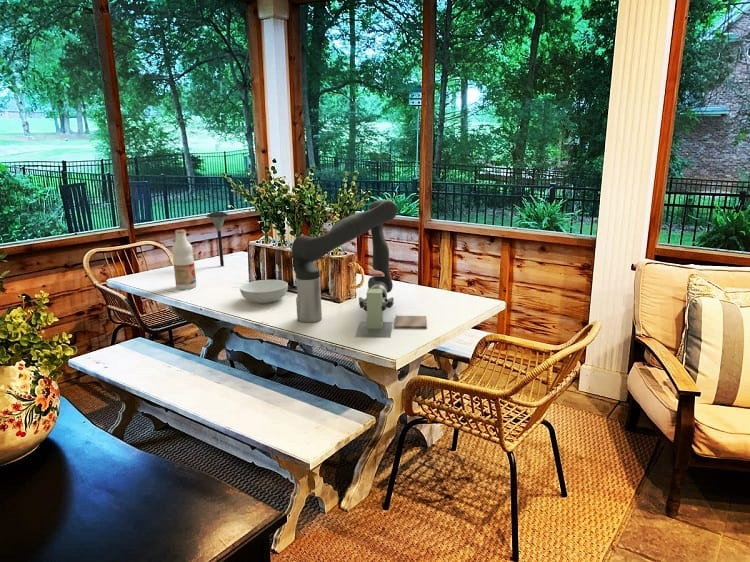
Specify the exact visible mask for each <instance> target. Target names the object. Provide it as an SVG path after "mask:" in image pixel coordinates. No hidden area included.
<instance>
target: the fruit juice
mask: <svg viewBox="0 0 750 562" xmlns="http://www.w3.org/2000/svg"><path fill="white" fill-rule="evenodd" d="M174 233H175V234H174V235H175V241H174V243H173V244H172V247H171V249H172V250H171V251H172V254H173V261H172V263H173V272H174V279H175V286H176V287H175V288H176V289H177V290H180V289H187V290H191V288H192V289H194V288H196V287H197V278H196V268H195V267H196V266H195V259H194V256H193V246H192V244H191V242H189V240H188V237H187V235H186V234H187V230H186V229H175V230H174Z"/></svg>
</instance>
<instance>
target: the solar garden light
mask: <svg viewBox="0 0 750 562" xmlns="http://www.w3.org/2000/svg"><path fill="white" fill-rule="evenodd" d="M228 216H230V214H228V213H226V212H224V211H211V212H210V213H208V215H206V218H210V220H211V222H212V224H213V225H214V227H215V229H216V231H217V239H218V241H217V242H218V251H219V252H218V253H219V261H220V262H219V263H220V267H221V266H223V267H224V266H225V265H224V254H223V242H222V241H223V240H222V231H221V230H222V229H223V226H224V222H225V220H226V217H228Z"/></svg>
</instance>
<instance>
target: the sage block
mask: <svg viewBox="0 0 750 562" xmlns="http://www.w3.org/2000/svg"><path fill="white" fill-rule="evenodd" d="M366 298H367V311H366V322H367V329H382V326H383V322H384V320H383V319H384V318H383V316H384V315H383V314H384V313H383V312H384V311H382V289H369V288H367V291H366Z"/></svg>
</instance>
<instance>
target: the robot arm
mask: <svg viewBox="0 0 750 562" xmlns="http://www.w3.org/2000/svg"><path fill="white" fill-rule="evenodd" d="M397 214H398V205H397V204H396V203H395V202H394V201H393V200H390V199H382V200H375V201H373V202H371V203H370V205H369V209H368V210H366V211H362V212H357V213H354V214H351V215H348V216H346V217H344V218H341V219H340V220H338V221H336V222H335V223H333V225H332V227H331V228H330V230H328V231H327V232H326V233H324V234H322V235H319V236H316V237H314V236H307V235H299V236H296V238H295V239H294V240H293V242H292V246H291V252H292V258H293V267H294V271H295V273H296V280H297V287H296V294H297V296H296V298H295V300H296V303H295V304H296V319H297V322H301V323H302V322H303V323H316V322H319V321H321V320H322V318H323V315H322V314H323V313H322V311H323V310H322V292H321V272H320V269H319V268H318V266H316V265H315V263H314V262H316V261H317V260H320V259H322V258H323V257H324V256H326V255H327V254H329V253H330V252H332V251H333V250H335V249H337V248H339V247H340V246H343V245H344V244H346V243H349V242H351V241H352V240H355V239H356V238H359V237H360V236H362V235H363V234H365V233H367V232H368V231H370V233H371V241H372V270H373V271H378V272H381V273H383V275H384V276H383V275H382V276H379V275H378V276H377V275H375V276H371V277H370V278H368V281H367V287H368V288H367V289H382V311H383V312H384V311H385V310H386V309H391V308H392V307H393V305H394V304H395V303H394V302H395V301H394V297H389V298H388V294H389V293H391V292H392V289H393V287H394V285H393V279H392V277H391V272H390V250H389V246H388V243H387V240H386V238H385V235H384V230H383V229H384V228H383V227H384V226H383V225H384V224H385V223H388V222H391V221H393V220H394V219H395V218H396V216H397ZM358 306H359V309H363V310H364V312H367V297H366V298H363V297H361V296H359V297H358Z"/></svg>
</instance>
